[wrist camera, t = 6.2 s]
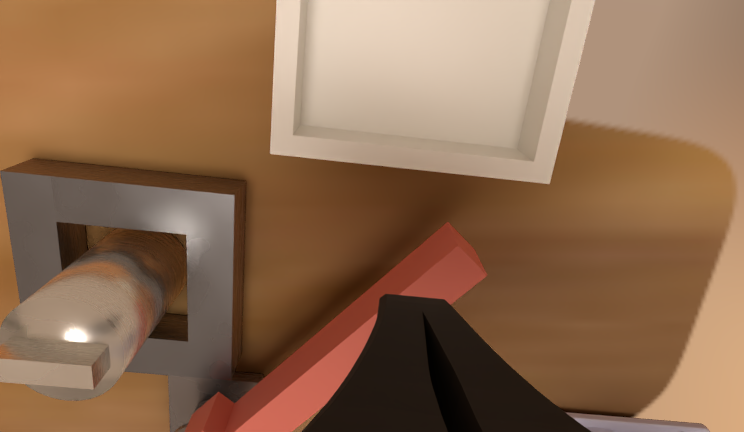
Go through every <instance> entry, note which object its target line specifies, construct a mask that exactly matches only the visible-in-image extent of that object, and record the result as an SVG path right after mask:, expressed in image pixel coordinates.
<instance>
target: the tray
mask: <svg viewBox="0 0 744 432" xmlns="http://www.w3.org/2000/svg"><path fill="white" fill-rule="evenodd" d="M594 3H595V0H277V5H276V28H275V51H274V74H273V97H272V120H271V143H270V154H275V155H285V156H294V157H303V158H312V159H322V160H331V161H340V162H349V163H359V164H368V165H377V166H387V167H396V168H405V169H414V170H424V171H433V172H442V173H451V174H461V175H470V176H479V177H489V178H498V179H507V180H516V181H526V182H535V183H544V184H550V180H551V176H552V172H553V168H554V164H555V160H556V156H557V152H558V148H559V144H560V140H561V136H562V132H563V128H564V124H565V120H566V116H567V112H568V108H569V104H570V100H571V96H572V92H573V88H574V83H575V79H576V76H577V71H578V68H579V63H580V59H581V56H582V51H583V47H584V43H585V39H586V35H587V31H588V27H589V23H590V19H591V15H592V11H593V7H594Z"/></svg>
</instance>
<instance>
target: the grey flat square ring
mask: <svg viewBox="0 0 744 432" xmlns="http://www.w3.org/2000/svg"><path fill="white" fill-rule="evenodd" d="M0 173H1V180H2V186H3V193H4V199H5V206H6V213H7V219H8V226H9V232H10V239H11V245H12V252H13V259H14V265H15V272H16V278H17V285H18V291H19V298H20V304H21V303H22V302H24V301H25V300H26V299H27V298H29V297H30V296H31V295H32V294H34V293H35V292H36V291H38V290H39V289H40V288H41V287H43V286H44V285H45V284H46V283H48V282H49V281H50V280H51V279H53V278H54V277H55V276H57V275H58V274H59V273H60V272H62V271H63V270H64V269H65V268H67V267H68V266H69V265H70V264H72V263H73V262H74V261H76V260H77V259H78V258H79V257H81V256H82V255H83V254H84V253H86V252H87V241H86V231H85V225H94V226H104V227H114V228H124V229H134V230H145V231H155V232H165V233H175V234H185V235H186V241H187V297H188V316H185V315H174V314H164V316H163V317H162V319H161V320H160V321H159V323H158V324H157V326H156V327H155V329H154V330H153V331H152V333H151V334H150V336H149V337H148V338H147V340H146V341H145V343H144V344H143V345H142V347H141V348H140V350H139V351H138V352H137V354H136V355H135V357H134V358H133V360H132V361H131V362H130V364H129V365H128V367H127V368H126V369H125V371H124V372H136V373H148V374H160V375H171V376H183V377H195V378H207V379H219V380H231V379H232V377H233V374H234V372H235V369H236V366H237V364H238V361H239V359H240V356H241V351H242V313H243V275H244V237H245V200H246V181H244V180H234V179H225V178H215V177H206V176H196V175H187V174H177V173H167V172H158V171H148V170H139V169H129V168H120V167H110V166H101V165H91V164H82V163H72V162H62V161H53V160H43V159H34V158H33V159H30V160H28V161H25V162H22V163H20V164H17V165H15V166H12V167H9V168H7V169H4V170H1V171H0Z"/></svg>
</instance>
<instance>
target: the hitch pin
mask: <svg viewBox="0 0 744 432" xmlns="http://www.w3.org/2000/svg"><path fill="white" fill-rule="evenodd" d="M186 283H187V252H186V250H185V248H184V247H183V245H182V244H181V243H180V241H179V240H178V239H177V238H176V237H175V236H174V235H172V234H171V233H165V232H155V231H145V230H134V229H124V228H116V229H115V230H114V231H112V232H111V233H110V234H108V235H107V236H106V237H105V238H103V239H102V240H101V241H100V242H98V243H97V244H96V245H95V246H93V247H92V248H91V249H89V250H88V251H87V252H86V253H84V254H83V255H82V256H81V257H79V258H78V259H77V260H76V261H74V262H73V263H72V264H70V265H69V266H68V267H67V268H65V269H64V270H63V271H62V272H60V273H59V274H58V275H57V276H55V277H54V278H53V279H51V280H50V281H49V282H48V283H46V284H45V285H44V286H43V287H41V288H40V289H39V290H38V291H36V292H35V293H34V294H32V295H31V296H30V297H29V298H27V299H26V300H25V301H24V302H22V303H21V304H20V305H19V306H17V307H16V308H15V309H14V310H12V311H11V312H10V313H9V314H8V315H7V316H6V318H5V319H4V321H3V323H2V325H1V328H0V382H7V383H19V384H25V385H27V386H28V387H29V388H31V389H33V390H35V391H36V392H39V393H41V394H43V395H46V396H49V397H52V398H56V399H60V400H68V401H79V400H86V399H91V398H94V397H97V396H99V395H101V394H103V393H105V392H106V391H108V390H109V389H110V388H111V387H113V386H114V384H115V383H116V382H117V381H118V379H119V378H120V376H121V375H122V374H123V372H124V371H125V369H126V368H127V367H128V365H129V364H130V362H131V361H132V360H133V358H134V357H135V355H136V354H137V352H138V351H139V350H140V348H141V347H142V345H143V344H144V343H145V341H146V340H147V338H148V337H149V336H150V334H151V333H152V331H153V330H154V329H155V327H156V326H157V324H158V323H159V321H160V320H161V319H162V317H163V316H164V314H165V313H166V312H167V310H168V309H169V307H170V306H171V305H172V303H173V302H174V300H175V299H176V298H177V296H178V295H179V293H180V292H181V291H182V289H183V288H184V286H185V285H186Z"/></svg>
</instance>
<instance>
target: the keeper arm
mask: <svg viewBox="0 0 744 432" xmlns="http://www.w3.org/2000/svg"><path fill="white" fill-rule="evenodd" d="M486 276H487V274H486V272H485V270H484V268H483V266H482V264H481V262H480V260H479V258H478V256H477V254H476V252H475V250H474V248H473V247H472V246H471V245H470V244H469V243H468V242H467V241H466V240H465V239H464V238H463V237H462V236H461V235H460V234H459V233H458V232H457V231H456V230H455V229H454V228H453V226H452V225H451V224H450V223H449V222H447V223H446V224H445V225H443V226H442V227H441V228H440V229H439V230H437V231H436V232H435V233H434V234H433V235H432V236H430V237H429V238H428V239H427V240H426V241H425V242H423V243H422V244H421V245H420V246H419V247H418V248H416V249H415V250H414V251H413V252H412V253H410V254H409V255H408V256H407V257H406V258H405V259H403V260H402V261H401V262H400V263H399V264H398V265H396V266H395V267H394V268H393V269H392V270H391V271H389V272H388V273H387V274H386V275H385V276H383V277H382V278H381V279H380V280H379V281H378V282H376V283H375V284H374V285H373V286H372V287H371V288H369V289H368V290H367V291H366V292H365V293H363V294H362V295H361V296H360V297H359V298H358V299H356V300H355V301H354V302H353V303H352V304H351V305H349V306H348V307H347V308H346V309H345V310H344V311H342V312H341V313H340V314H339V315H338V316H336V317H335V318H334V319H333V320H332V321H331V322H329V323H328V324H327V325H326V326H325V327H324V328H322V329H321V330H320V331H319V332H318V333H317V334H315V335H314V336H313V337H312V338H311V339H309V340H308V341H307V342H306V343H305V344H304V345H302V346H301V347H300V348H299V349H298V350H297V351H295V352H294V353H293V354H292V355H291V356H290V357H288V358H287V359H286V360H285V361H284V362H282V363H281V364H280V365H279V366H278V367H277V368H275V369H274V370H273V371H272V372H271V373H270V374H268V375H267V376H266V377H265V378H264V379H263V380H261V381H260V382H259V383H258V384H257V385H255V386H254V387H253V388H252V389H251V390H250V391H248V392H247V393H246V394H245V395H244V396H243V397H241V398H240V399H239V400H238V401H237V402H236V403H233V402H232V401H231V400H229V399H228V398H227V397H225V396H224V395H223V394H221V393H220V392H218V393H216V394H215V395H214V396H213V397H212V398H211V399H209V400H208V401H207V402H206V403H205V404H204V405H203V406H201V407H200V408H199V409H198V410H197V411H196V412H195V413H193V414H192V416H191V418H190V421H189V423H188V425H187V427H186V429H185V432H292V431H293V430H294V429H296V428H297V427H298V426H299V425H301V424H302V423H303V422H304V421H306V420H307V419H308V418H309V417H311V416H312V415H313V414H314V413H316V412H317V411H318V410H319V409H321V408H322V407H323V406H324V405H326V404H327V402H328V401H329V400H330V398H331V397H332V396H333V395H334V393H335V392H336V391H337V389H338V388H339V387H340V385H341V384H342V382H343V381H344V380H345V378H346V377H347V375H348V374H349V372H350V371H351V369H352V367H353V366H354V364H355V362H356V360H357V359H358V357H359V355H360V354H361V352H362V350H363V349H364V347H365V345H366V343H367V341H368V338H369V336H370V334H371V332H372V330H373V327H374V325H375V322H376V319H377V313H378V306H379V299H380V297H382V296H383V295H385V294H395V295H405V296H416V297H426V298H437V299H445V300H446V301H447V302H448V303H449V304H450V305H451V304H452V303H453V302H455V301H456V300H457V299H458V298H460V297H461V296H462V295H463V294H465V293H466V292H467V291H468V290H470V289H471V288H472V287H473V286H475V285H476V284H477V283H478V282H480V281H481V280H482V279H483V278H485V277H486Z"/></svg>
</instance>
